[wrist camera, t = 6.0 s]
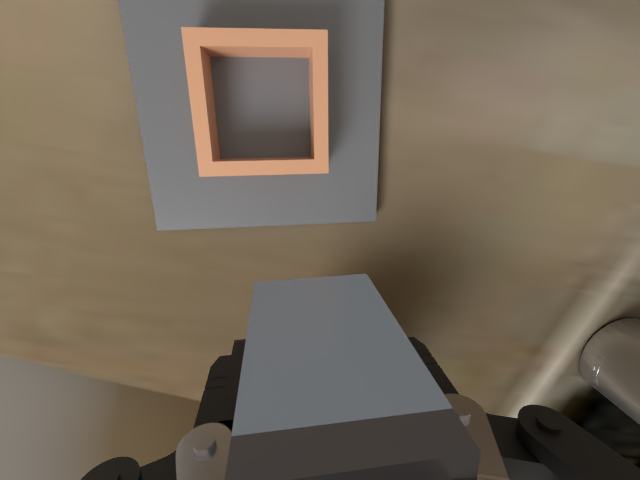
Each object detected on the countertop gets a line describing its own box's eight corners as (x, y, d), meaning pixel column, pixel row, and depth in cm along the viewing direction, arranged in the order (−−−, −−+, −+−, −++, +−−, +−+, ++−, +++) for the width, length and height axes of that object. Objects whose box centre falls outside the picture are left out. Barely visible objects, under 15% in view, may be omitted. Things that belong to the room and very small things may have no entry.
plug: (366, 273, 13) (481, 452, 6) (364, 365, 15) (456, 605, 7) (254, 282, 13) (222, 489, 5) (263, 376, 14) (249, 646, 7)
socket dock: (380, -23, 24) (400, -54, 20) (372, 217, 29) (386, 230, 26) (119, -32, 22) (84, -69, 18) (162, 226, 28) (142, 242, 24)
